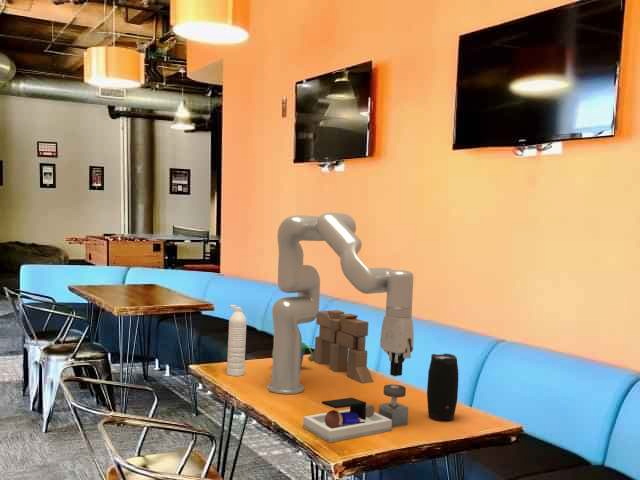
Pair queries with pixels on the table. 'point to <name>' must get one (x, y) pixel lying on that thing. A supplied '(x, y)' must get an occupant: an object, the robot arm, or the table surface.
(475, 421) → the table surface
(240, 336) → the water bottle
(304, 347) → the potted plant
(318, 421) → the tray
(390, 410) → the block
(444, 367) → the portable speaker
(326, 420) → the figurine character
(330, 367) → the brown block wall
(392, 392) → the gray mushroom knob
